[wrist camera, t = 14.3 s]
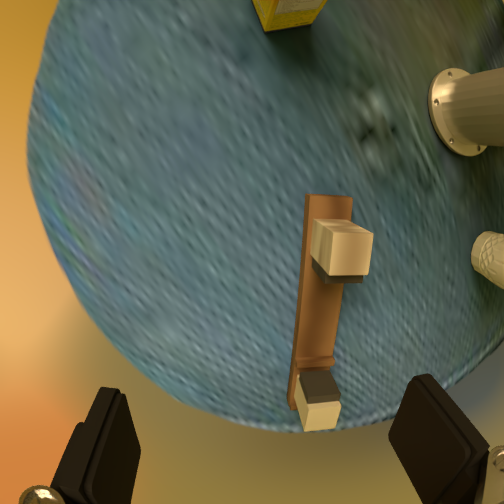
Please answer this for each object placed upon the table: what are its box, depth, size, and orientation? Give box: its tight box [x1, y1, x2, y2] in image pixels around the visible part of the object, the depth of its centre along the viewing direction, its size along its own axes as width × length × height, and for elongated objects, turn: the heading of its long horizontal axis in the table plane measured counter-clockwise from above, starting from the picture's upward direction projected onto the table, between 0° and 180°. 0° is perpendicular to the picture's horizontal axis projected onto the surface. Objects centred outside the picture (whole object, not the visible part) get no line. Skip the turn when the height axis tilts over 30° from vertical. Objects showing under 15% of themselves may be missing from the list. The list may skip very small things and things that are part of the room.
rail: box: [287, 194, 373, 410], centre depth 35 cm, size 5×29×9 cm, turn 178°
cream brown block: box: [294, 370, 341, 432], centre depth 37 cm, size 4×5×7 cm
